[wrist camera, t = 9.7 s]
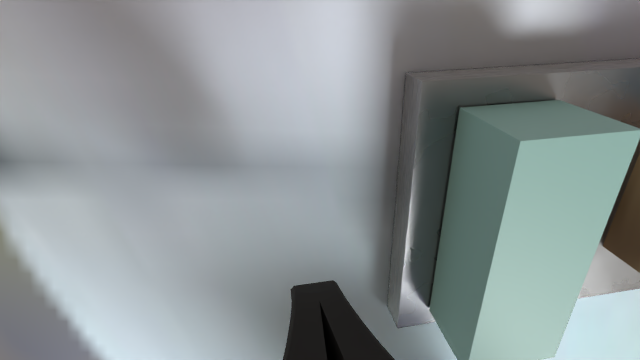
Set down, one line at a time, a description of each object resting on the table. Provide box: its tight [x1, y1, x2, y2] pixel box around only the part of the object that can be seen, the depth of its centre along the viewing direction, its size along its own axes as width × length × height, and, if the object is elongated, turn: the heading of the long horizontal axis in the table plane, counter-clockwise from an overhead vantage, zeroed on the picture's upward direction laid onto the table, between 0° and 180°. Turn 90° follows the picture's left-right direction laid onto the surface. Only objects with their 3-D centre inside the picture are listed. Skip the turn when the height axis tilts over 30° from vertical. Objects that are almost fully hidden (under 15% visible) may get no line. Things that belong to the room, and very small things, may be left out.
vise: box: [387, 59, 640, 328], centre depth 16 cm, size 12×20×5 cm, turn 91°
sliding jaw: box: [429, 100, 640, 360], centre depth 15 cm, size 10×4×3 cm, turn 1°
